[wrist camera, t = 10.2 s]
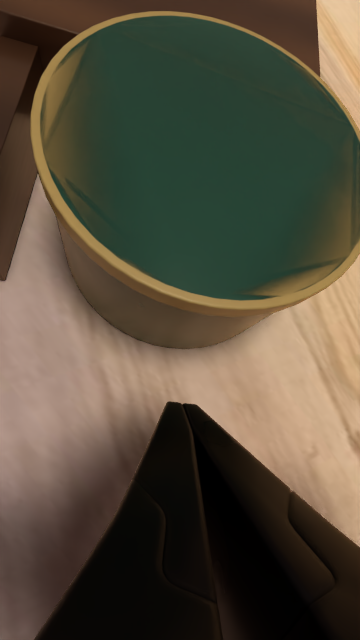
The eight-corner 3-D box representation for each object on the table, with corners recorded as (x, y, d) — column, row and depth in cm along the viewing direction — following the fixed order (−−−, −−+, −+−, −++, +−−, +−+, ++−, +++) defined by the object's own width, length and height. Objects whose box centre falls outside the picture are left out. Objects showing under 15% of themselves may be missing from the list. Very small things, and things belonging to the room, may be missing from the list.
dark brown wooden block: (272, 326, 17) (332, 292, 13) (-258, 236, 13) (-456, 138, 9) (275, -13, 27) (310, -104, 22) (-35, -127, 23) (-72, -267, 18)
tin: (233, 397, 16) (322, 384, 9) (7, 273, 15) (-68, 166, 9) (308, 218, 20) (405, 123, 14) (135, 115, 19) (150, -37, 13)
